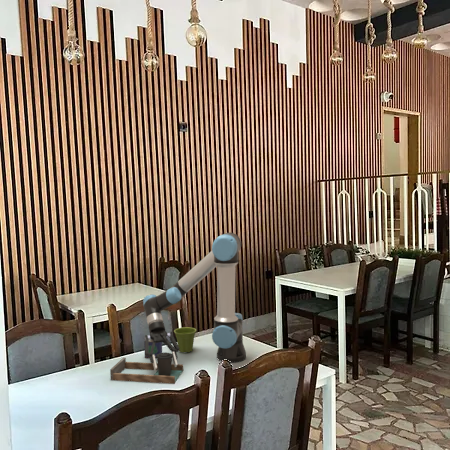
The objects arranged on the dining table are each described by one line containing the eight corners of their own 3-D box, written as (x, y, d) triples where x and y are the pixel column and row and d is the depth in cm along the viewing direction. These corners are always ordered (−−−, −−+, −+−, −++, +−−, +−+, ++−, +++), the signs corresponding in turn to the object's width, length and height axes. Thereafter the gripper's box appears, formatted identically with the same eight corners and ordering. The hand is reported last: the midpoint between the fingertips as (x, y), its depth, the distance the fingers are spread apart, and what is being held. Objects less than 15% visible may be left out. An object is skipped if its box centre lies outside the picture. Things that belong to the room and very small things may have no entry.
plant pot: (172, 348, 270) (172, 328, 269) (193, 346, 273) (193, 326, 273) (177, 355, 259) (176, 334, 258) (199, 353, 262) (198, 332, 261)
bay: (183, 370, 238) (183, 360, 237) (174, 383, 222) (173, 372, 221) (123, 367, 243) (123, 357, 242) (110, 380, 227) (110, 369, 227)
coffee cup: (170, 378, 226) (170, 357, 226) (153, 377, 228) (153, 355, 227) (175, 372, 234) (175, 351, 234) (159, 371, 236) (159, 350, 235)
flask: (162, 356, 258) (162, 336, 257) (161, 358, 255) (161, 338, 254) (145, 356, 258) (144, 336, 257) (144, 358, 255) (143, 338, 255)
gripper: (175, 325, 248) (186, 367, 234) (132, 331, 239) (141, 374, 226) (178, 317, 243) (190, 360, 229) (134, 323, 234) (144, 367, 221)
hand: (166, 367), depth 228 cm, fingers open, 9 cm apart
